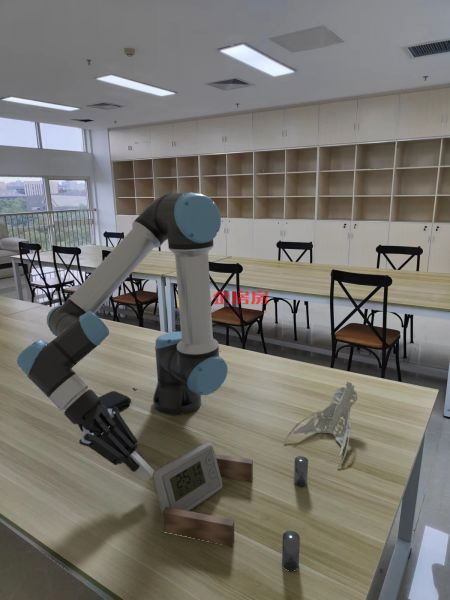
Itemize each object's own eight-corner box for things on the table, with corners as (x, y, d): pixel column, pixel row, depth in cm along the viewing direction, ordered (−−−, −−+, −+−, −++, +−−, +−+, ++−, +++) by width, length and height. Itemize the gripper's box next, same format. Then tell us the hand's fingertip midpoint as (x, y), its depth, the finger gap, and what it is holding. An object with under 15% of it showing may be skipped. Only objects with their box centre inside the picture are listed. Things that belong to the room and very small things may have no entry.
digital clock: (163, 529, 83) (161, 484, 80) (146, 502, 90) (143, 459, 87) (231, 497, 91) (231, 455, 88) (210, 474, 98) (209, 435, 96)
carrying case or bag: (112, 395, 138) (73, 414, 126) (111, 387, 137) (72, 405, 126) (134, 404, 132) (95, 425, 120) (133, 396, 131) (94, 416, 119)
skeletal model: (281, 446, 109) (315, 363, 119) (293, 456, 116) (324, 377, 125) (338, 469, 99) (371, 377, 109) (348, 480, 106) (378, 392, 115)
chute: (163, 533, 82) (162, 512, 81) (196, 468, 100) (195, 450, 99) (232, 547, 78) (232, 525, 77) (252, 478, 97) (252, 459, 96)
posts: (281, 569, 74) (281, 542, 72) (294, 477, 97) (295, 455, 95) (298, 573, 73) (299, 545, 71) (307, 479, 96) (308, 457, 95)
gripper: (83, 395, 99) (152, 466, 99) (48, 424, 87) (125, 505, 87) (101, 377, 96) (171, 450, 96) (67, 405, 84) (147, 488, 84)
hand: (149, 476), depth 92 cm, fingers closed
